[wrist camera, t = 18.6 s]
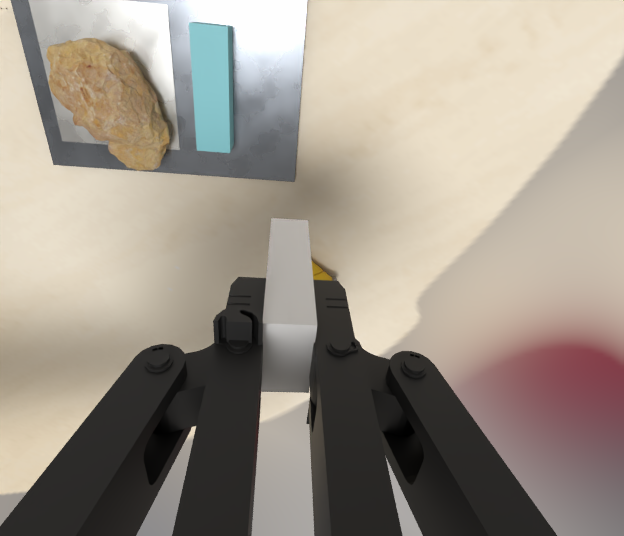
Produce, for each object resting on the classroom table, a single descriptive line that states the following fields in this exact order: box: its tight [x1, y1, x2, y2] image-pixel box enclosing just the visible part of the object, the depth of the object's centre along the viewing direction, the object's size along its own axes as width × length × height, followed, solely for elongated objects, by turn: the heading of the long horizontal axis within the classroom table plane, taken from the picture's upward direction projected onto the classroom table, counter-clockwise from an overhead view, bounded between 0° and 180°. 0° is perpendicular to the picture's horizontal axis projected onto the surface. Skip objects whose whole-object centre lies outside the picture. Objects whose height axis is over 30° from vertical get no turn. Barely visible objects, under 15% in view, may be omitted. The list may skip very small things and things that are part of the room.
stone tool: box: [46, 38, 169, 170], centre depth 35 cm, size 9×7×10 cm
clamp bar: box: [189, 22, 234, 153], centre depth 35 cm, size 3×10×3 cm, turn 175°
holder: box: [11, 0, 307, 182], centre depth 37 cm, size 24×17×1 cm
